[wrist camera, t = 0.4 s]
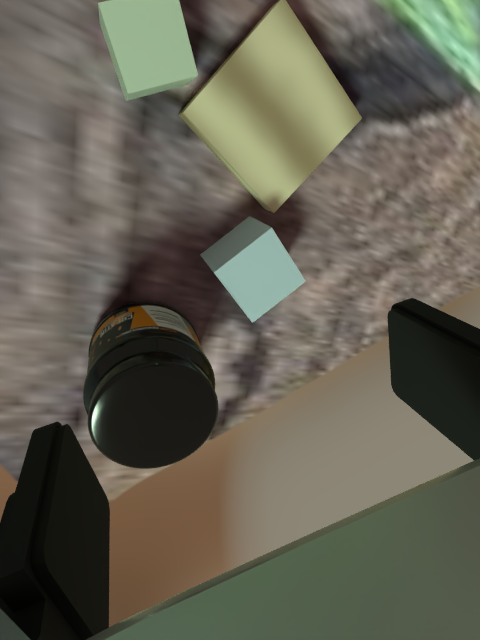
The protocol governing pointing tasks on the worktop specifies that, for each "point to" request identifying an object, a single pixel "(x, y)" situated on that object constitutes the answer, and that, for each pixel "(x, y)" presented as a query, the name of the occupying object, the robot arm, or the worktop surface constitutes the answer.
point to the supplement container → (148, 387)
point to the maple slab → (272, 109)
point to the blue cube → (253, 267)
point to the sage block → (147, 45)
